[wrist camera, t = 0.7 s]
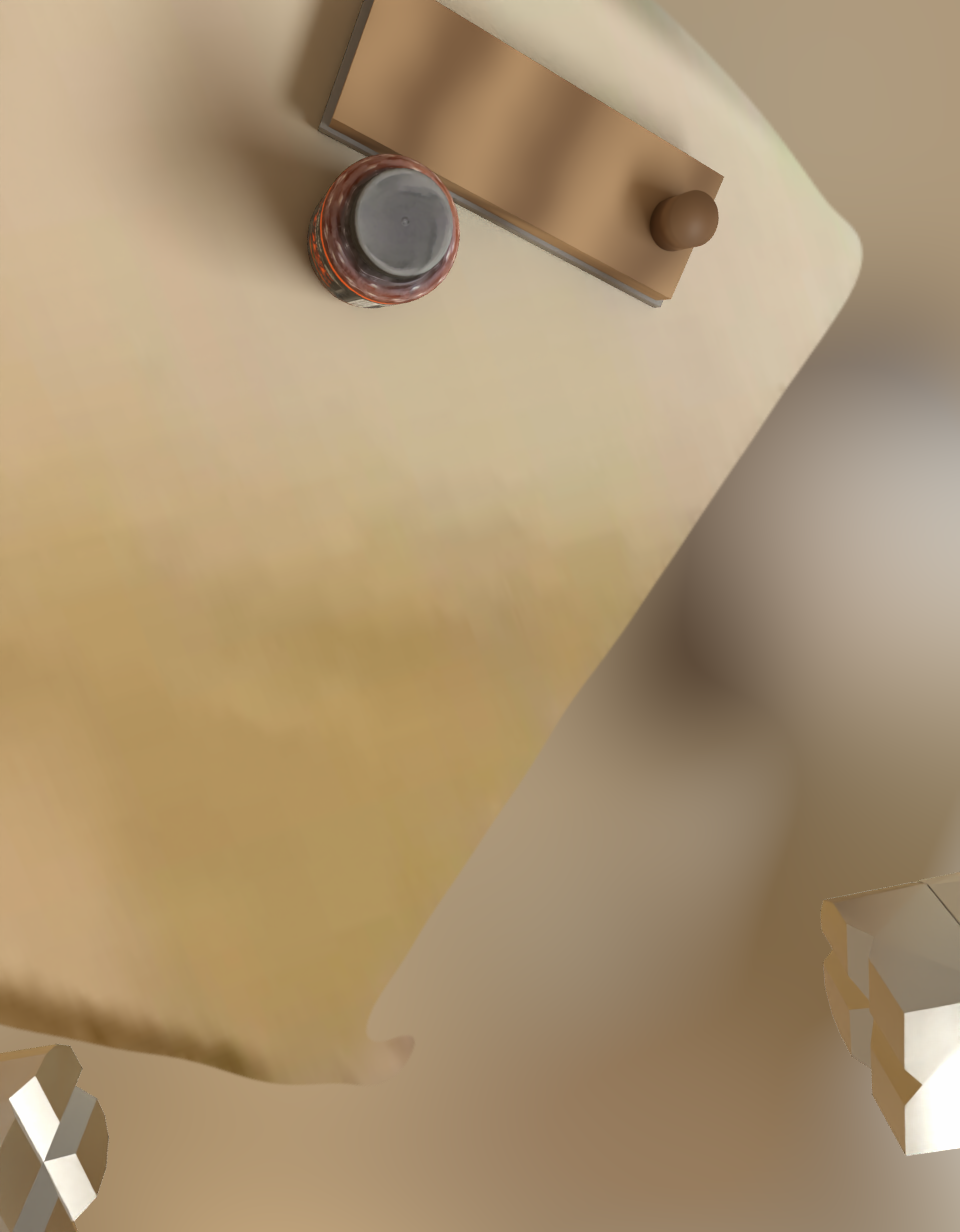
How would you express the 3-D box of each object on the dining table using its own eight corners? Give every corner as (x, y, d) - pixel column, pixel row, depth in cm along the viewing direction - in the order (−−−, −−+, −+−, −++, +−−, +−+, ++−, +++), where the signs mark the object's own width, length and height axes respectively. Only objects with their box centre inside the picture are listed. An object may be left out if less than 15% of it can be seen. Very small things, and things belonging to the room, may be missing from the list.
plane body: (317, 130, 43) (328, 105, 39) (370, -18, 42) (387, -62, 37) (653, 307, 50) (697, 304, 45) (707, 184, 49) (757, 168, 44)
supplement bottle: (290, 195, 44) (310, 149, 33) (407, 173, 45) (461, 122, 34) (322, 321, 46) (350, 314, 35) (432, 297, 47) (491, 283, 36)
